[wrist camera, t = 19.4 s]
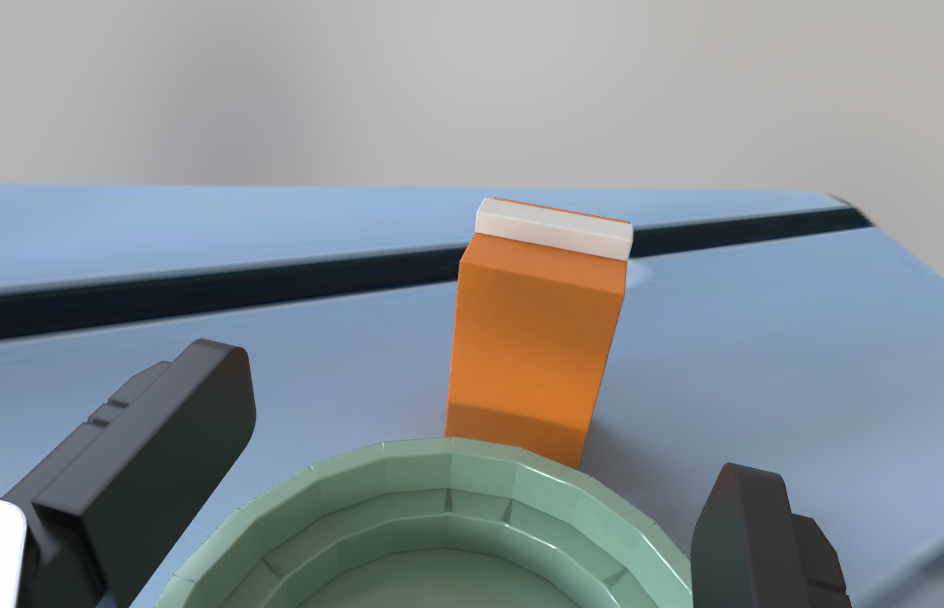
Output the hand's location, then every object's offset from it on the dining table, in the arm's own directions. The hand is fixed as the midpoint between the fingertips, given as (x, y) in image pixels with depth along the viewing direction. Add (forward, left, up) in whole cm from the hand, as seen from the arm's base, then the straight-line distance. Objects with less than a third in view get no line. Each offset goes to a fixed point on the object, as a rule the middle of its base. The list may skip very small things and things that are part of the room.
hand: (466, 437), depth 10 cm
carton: (-5, +10, -11) cm, 16 cm away
